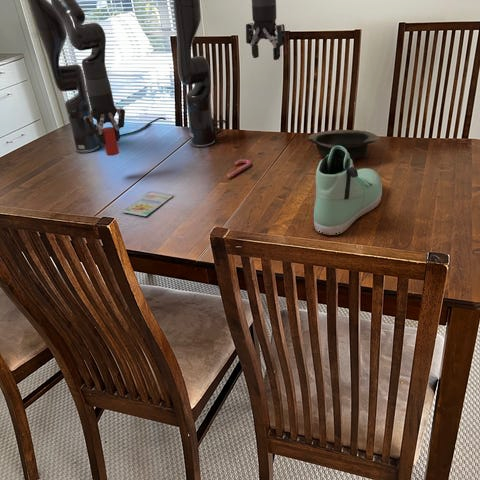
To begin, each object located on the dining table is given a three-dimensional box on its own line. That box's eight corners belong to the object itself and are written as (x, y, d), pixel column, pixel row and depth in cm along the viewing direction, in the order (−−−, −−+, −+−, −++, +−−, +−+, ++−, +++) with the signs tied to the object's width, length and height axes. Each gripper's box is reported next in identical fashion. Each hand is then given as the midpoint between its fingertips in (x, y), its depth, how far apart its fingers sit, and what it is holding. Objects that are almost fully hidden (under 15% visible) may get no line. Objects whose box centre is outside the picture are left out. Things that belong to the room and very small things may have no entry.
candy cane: (215, 176, 165) (215, 172, 164) (240, 161, 175) (240, 157, 174) (229, 180, 162) (229, 175, 161) (254, 164, 172) (254, 160, 171)
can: (104, 155, 164) (98, 130, 159) (110, 150, 167) (105, 126, 163) (115, 156, 162) (109, 131, 158) (121, 151, 166) (116, 127, 161)
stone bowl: (336, 174, 158) (335, 147, 154) (295, 157, 179) (293, 133, 174) (394, 156, 167) (394, 130, 163) (348, 141, 187) (348, 118, 183)
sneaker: (389, 187, 148) (396, 123, 138) (356, 242, 123) (361, 168, 112) (346, 181, 154) (350, 119, 144) (306, 232, 129) (307, 161, 118)
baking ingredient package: (121, 211, 146) (150, 191, 157) (122, 212, 146) (150, 192, 158) (145, 215, 142) (173, 195, 154) (145, 216, 143) (173, 196, 154)
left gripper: (80, 98, 148) (93, 150, 157) (124, 89, 154) (134, 140, 163) (74, 93, 154) (86, 144, 162) (116, 85, 160) (126, 134, 169)
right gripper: (238, 5, 150) (242, 59, 159) (274, 5, 142) (276, 62, 150) (253, 2, 155) (256, 54, 163) (289, 2, 146) (290, 58, 155)
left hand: (110, 142), depth 163 cm, fingers closed on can, 4 cm apart
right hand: (266, 58), depth 157 cm, fingers open, 8 cm apart
